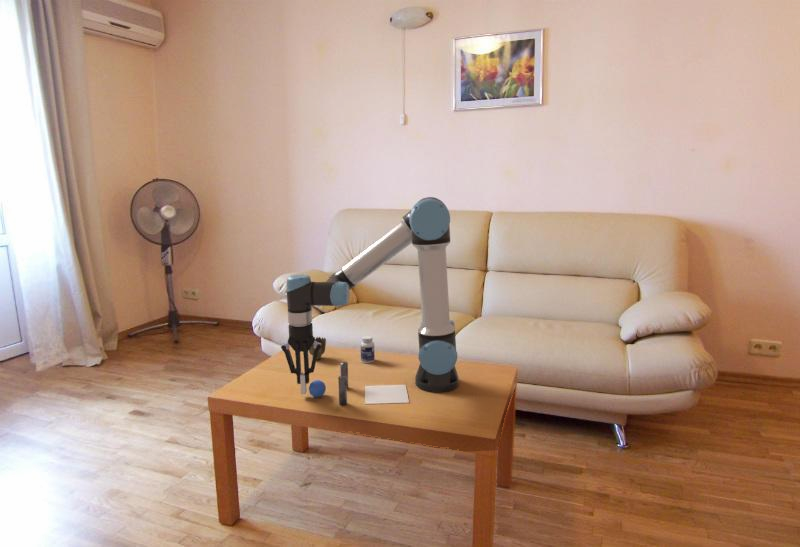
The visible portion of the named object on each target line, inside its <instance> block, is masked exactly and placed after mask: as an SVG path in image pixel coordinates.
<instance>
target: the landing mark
mask: <svg viewBox="0 0 800 547" xmlns="http://www.w3.org/2000/svg"><path fill="white" fill-rule="evenodd" d="M364 388H365V389H364V405H384V404H409V403H410V401H409V396H408V389H407V385H406V384H388V385H387V384H384V385H383V384H382V385H381V384H379V385H365V386H364Z"/></svg>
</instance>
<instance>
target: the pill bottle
mask: <svg viewBox="0 0 800 547" xmlns="http://www.w3.org/2000/svg"><path fill="white" fill-rule="evenodd" d="M361 338H362V339H361V340H362V342H361V343H360V362H362V363H363V364H371V362H372V363H373V362H375V342H374V341H373V339H374V338H373V336H371V335H364V336H362V337H361Z"/></svg>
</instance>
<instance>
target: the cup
mask: <svg viewBox="0 0 800 547" xmlns="http://www.w3.org/2000/svg"><path fill="white" fill-rule="evenodd" d="M313 337H314V336H313ZM321 337H322V336H321ZM321 337H320V336H319V337H318V336H316V337H314V339H315V341H317V342H318V343H319V342H321V348H320V349H319V351H318V354H317V359H316V361H318V360H321V359H322V357H323V355H324V353H325V351H326V345H327V338H326V337H322V338H321ZM314 350H315V348H314V344H313V345H312V346H311V348H310V349H309V350H308V354H310V355H311V356H312V357H313V354H314Z"/></svg>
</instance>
